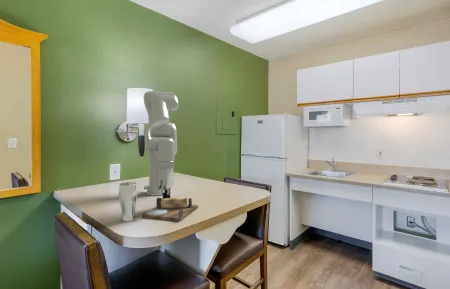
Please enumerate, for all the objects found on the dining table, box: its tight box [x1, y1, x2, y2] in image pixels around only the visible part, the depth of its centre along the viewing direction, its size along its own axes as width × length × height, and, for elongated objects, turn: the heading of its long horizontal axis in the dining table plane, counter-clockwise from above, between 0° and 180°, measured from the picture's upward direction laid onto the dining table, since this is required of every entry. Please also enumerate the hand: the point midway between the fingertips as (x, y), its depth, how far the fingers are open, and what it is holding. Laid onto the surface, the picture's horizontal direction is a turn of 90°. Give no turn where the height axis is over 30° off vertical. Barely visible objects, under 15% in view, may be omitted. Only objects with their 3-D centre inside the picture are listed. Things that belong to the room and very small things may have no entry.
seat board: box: [141, 197, 199, 222], centre depth 111 cm, size 18×19×5 cm
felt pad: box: [145, 208, 167, 216], centre depth 108 cm, size 9×9×1 cm
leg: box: [155, 196, 188, 208], centre depth 114 cm, size 14×3×4 cm, turn 100°
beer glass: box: [118, 181, 138, 222], centre depth 102 cm, size 7×7×15 cm
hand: (166, 202), depth 117 cm, fingers closed
